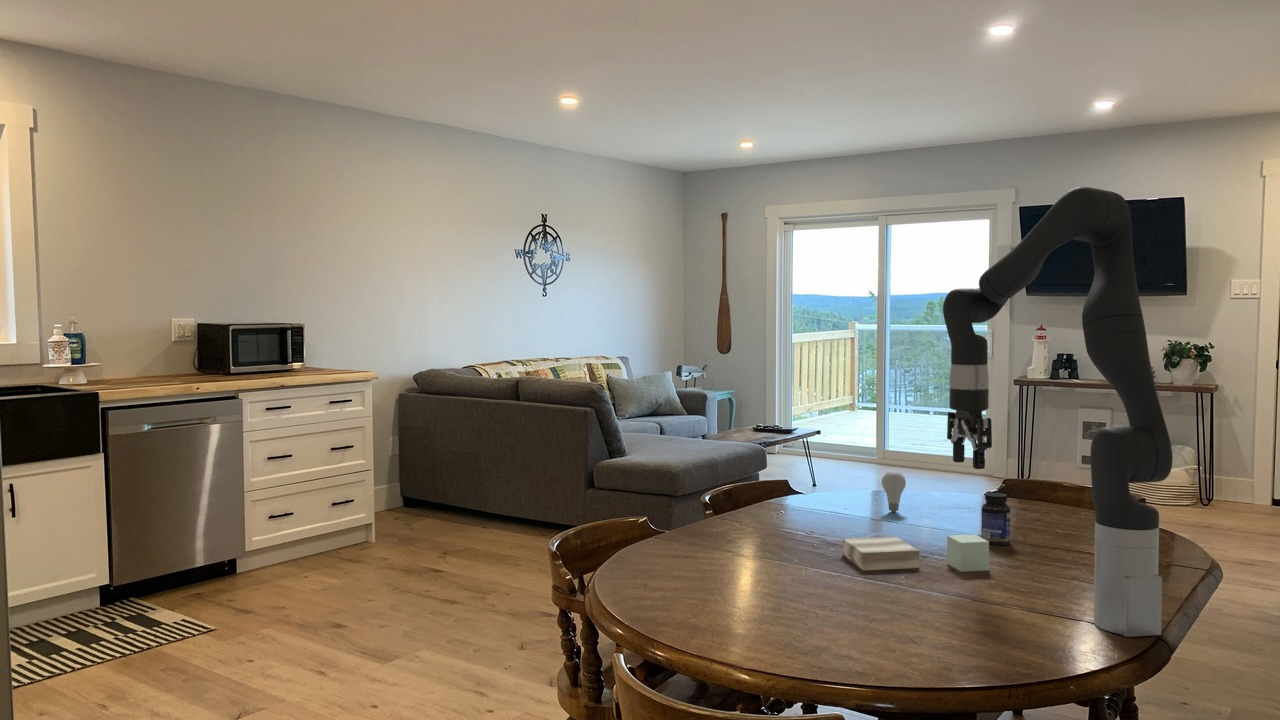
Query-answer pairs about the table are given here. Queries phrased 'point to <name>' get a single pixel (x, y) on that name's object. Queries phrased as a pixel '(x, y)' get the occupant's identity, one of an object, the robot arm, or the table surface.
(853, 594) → the table surface
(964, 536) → the sage block
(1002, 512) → the pill bottle
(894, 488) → the lightbulb
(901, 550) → the birch block
